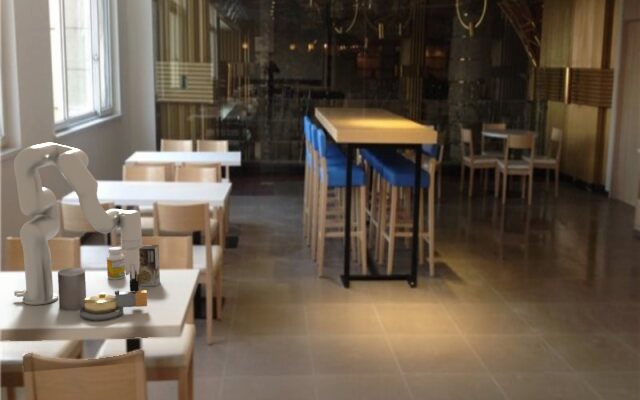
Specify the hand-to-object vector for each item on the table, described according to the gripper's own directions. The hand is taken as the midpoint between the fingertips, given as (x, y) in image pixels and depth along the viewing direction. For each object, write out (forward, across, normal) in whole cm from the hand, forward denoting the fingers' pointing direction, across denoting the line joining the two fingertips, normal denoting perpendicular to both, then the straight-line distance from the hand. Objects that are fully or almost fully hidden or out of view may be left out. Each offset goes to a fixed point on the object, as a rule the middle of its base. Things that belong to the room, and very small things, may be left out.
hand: (134, 290), depth 268 cm
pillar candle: (+5, -2, -22) cm, 23 cm away
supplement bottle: (+5, -37, -9) cm, 39 cm away
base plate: (+5, +9, -12) cm, 15 cm away
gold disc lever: (+3, +9, -6) cm, 11 cm away
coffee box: (+6, -25, +4) cm, 26 cm away
